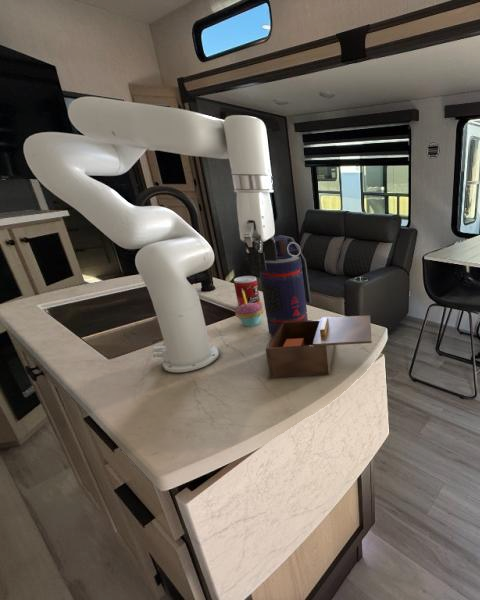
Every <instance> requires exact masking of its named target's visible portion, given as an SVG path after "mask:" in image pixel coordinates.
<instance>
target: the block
mask: <svg viewBox="0 0 480 600" xmlns="http://www.w3.org/2000/svg"><path fill="white" fill-rule="evenodd" d="M288 346H305V345H304V338H298V339H286V341H285V343H284V345H283V347H288Z"/></svg>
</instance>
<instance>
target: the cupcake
mask: <svg viewBox="0 0 480 600" xmlns="http://www.w3.org/2000/svg"><path fill="white" fill-rule="evenodd" d="M242 294H243V298H244V301H245V303H244V304H242V305H240V306H237V308H236V309H235V317H237V318H238V319H239V320H240V322H241V323H242V325H243V326H244V327H253V326H257V325H258V324H259V322H260V317H261V314H263V313H264V308H263V306H262V305H261V304H260V305H259V304H257V303H247V301H246V297H245V293H244V291H243V289H242Z"/></svg>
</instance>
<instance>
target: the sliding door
mask: <svg viewBox="0 0 480 600" xmlns="http://www.w3.org/2000/svg"><path fill="white" fill-rule="evenodd" d="M319 320H320V321H319V325H318V328H317V331H316V334H315V337H314V341H313V344H312V345H313V346H326V345H334V346H345V345H360V344H372V343H373V341H372V340H373V339H372V323H371V315H370V314H368V315H346V316H322V317H320V318H319Z"/></svg>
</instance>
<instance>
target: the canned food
mask: <svg viewBox="0 0 480 600" xmlns="http://www.w3.org/2000/svg"><path fill="white" fill-rule="evenodd" d="M233 285H234V291H235V295H236V300H237V305H238V306H237V307H239V306H240V305H242V304H244V303H245V301H244V298H243V294H242V289H243V291H244V293H245V297H246V301H247V303H257V304H259V305H261V299H260V292H259V286H258V280H257V277H256V276H253V275H243V276H238V277H235V278H234V279H233Z"/></svg>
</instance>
